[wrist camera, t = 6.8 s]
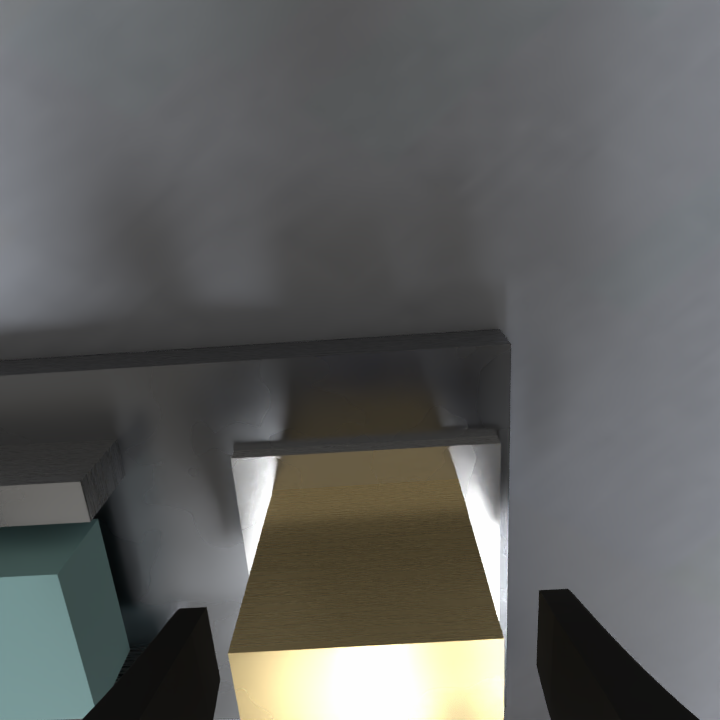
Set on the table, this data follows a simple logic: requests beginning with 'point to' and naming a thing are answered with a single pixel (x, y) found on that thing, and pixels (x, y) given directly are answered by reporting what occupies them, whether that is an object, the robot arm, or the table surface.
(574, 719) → the robot arm
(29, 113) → the table surface
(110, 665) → the teal and grey block
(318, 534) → the block
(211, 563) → the press bed
